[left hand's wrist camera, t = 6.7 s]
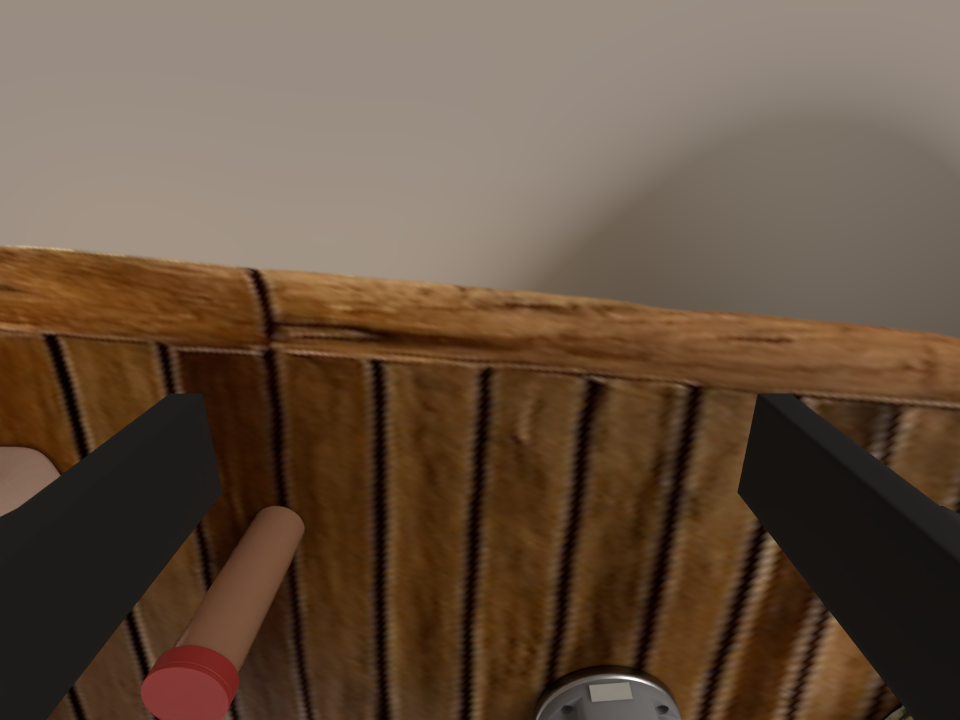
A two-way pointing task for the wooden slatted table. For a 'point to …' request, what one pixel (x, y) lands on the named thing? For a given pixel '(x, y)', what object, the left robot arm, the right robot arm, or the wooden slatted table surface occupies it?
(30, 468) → the anatomical model
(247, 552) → the jar
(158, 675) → the lid
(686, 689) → the wooden slatted table surface
